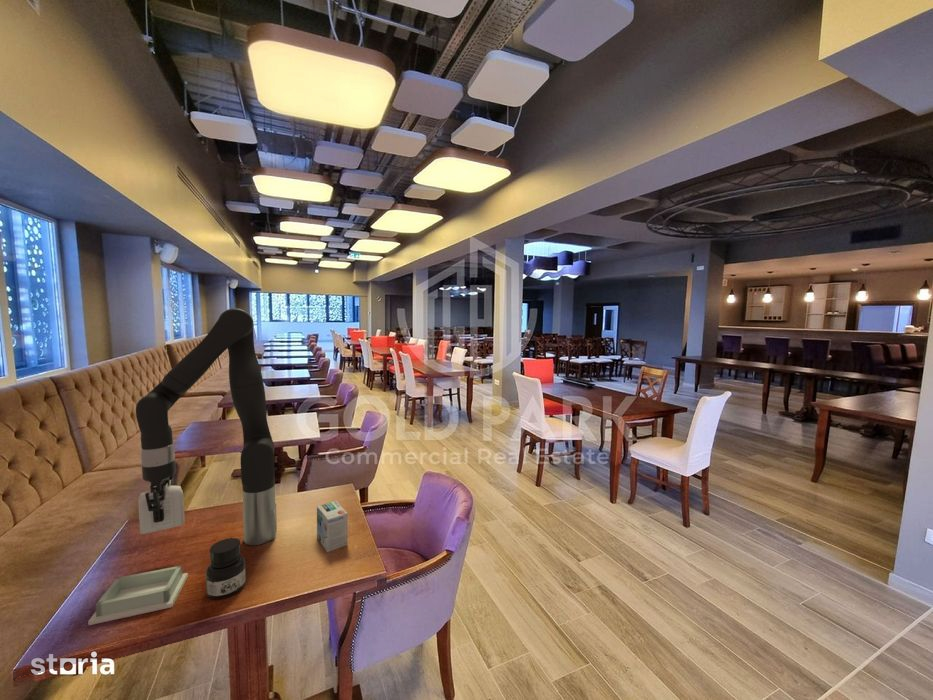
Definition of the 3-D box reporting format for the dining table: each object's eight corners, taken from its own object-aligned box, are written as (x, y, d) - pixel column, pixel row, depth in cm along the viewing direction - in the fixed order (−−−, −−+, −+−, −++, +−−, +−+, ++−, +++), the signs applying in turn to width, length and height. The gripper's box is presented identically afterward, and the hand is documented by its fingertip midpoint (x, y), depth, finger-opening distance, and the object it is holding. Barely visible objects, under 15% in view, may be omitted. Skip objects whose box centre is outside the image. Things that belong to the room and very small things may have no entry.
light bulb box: (316, 537, 123) (315, 505, 123) (336, 530, 128) (336, 499, 127) (327, 553, 115) (327, 519, 114) (348, 545, 119) (348, 512, 119)
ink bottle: (204, 606, 93) (203, 560, 92) (204, 585, 100) (202, 543, 99) (249, 590, 99) (248, 547, 98) (245, 572, 106) (244, 531, 105)
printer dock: (187, 576, 104) (187, 562, 103) (172, 607, 92) (171, 591, 92) (114, 590, 98) (113, 576, 97) (88, 625, 86) (87, 609, 86)
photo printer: (185, 519, 114) (182, 480, 113) (184, 525, 111) (181, 485, 110) (141, 529, 109) (138, 489, 108) (138, 537, 105) (135, 495, 104)
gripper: (165, 468, 103) (169, 526, 104) (182, 451, 116) (185, 503, 117) (130, 472, 100) (135, 532, 101) (152, 454, 113) (156, 507, 115)
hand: (162, 516), depth 109 cm, fingers closed on photo printer, 4 cm apart
